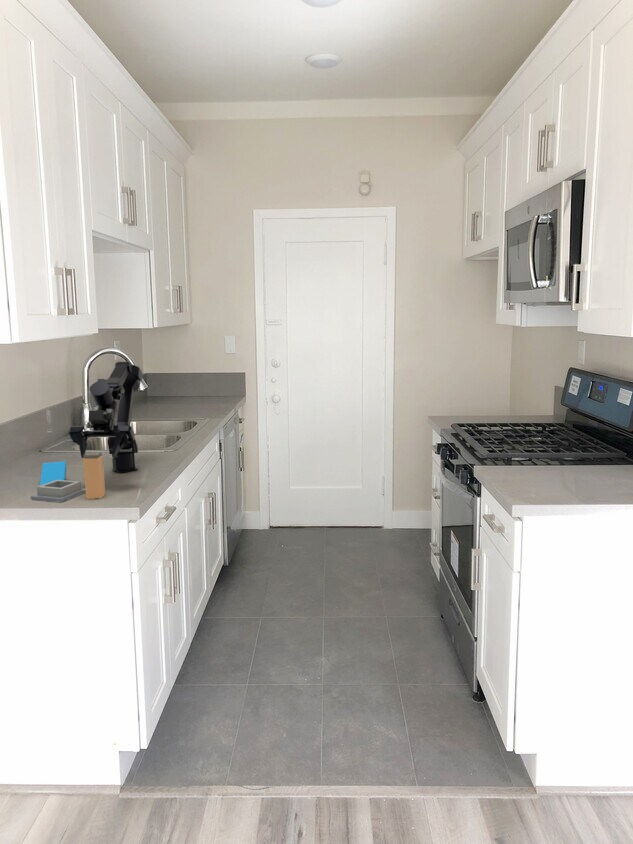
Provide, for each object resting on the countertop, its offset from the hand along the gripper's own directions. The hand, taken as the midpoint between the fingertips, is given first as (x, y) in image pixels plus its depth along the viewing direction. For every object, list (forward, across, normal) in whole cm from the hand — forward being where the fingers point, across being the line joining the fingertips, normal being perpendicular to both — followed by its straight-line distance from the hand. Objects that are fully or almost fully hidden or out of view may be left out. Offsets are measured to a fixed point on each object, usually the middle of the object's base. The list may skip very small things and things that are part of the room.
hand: (97, 457), depth 205 cm
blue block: (-1, -18, +18) cm, 25 cm away
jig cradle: (+9, -11, +6) cm, 16 cm away
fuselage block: (+11, 0, +5) cm, 12 cm away
